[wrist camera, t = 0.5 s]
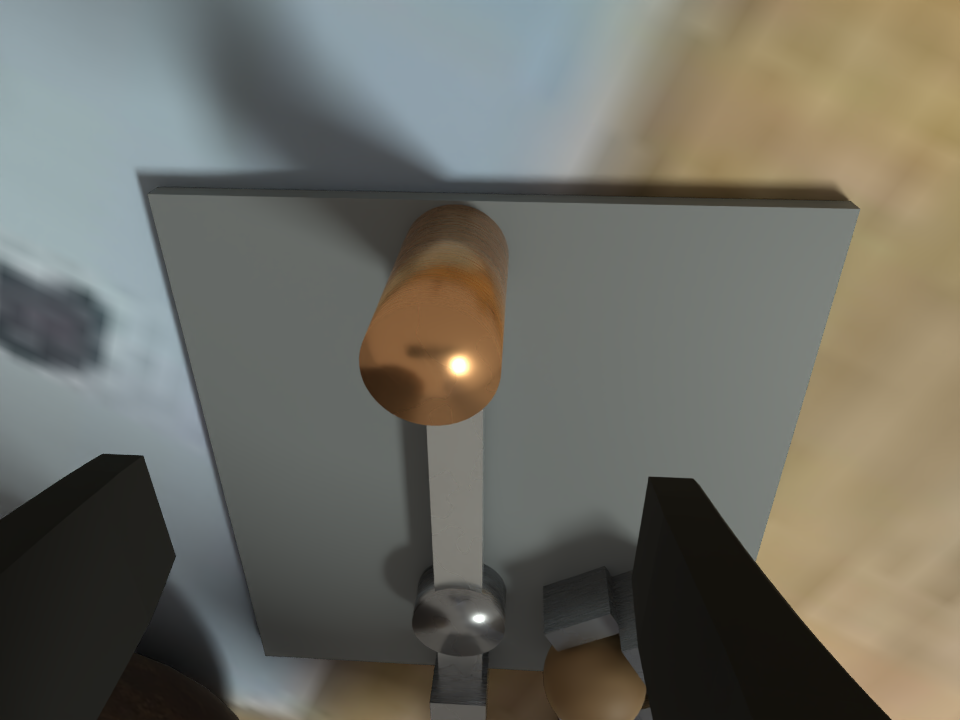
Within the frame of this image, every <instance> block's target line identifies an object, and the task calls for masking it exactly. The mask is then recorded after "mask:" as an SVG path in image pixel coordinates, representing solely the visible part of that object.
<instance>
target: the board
mask: <svg viewBox="0 0 960 720" xmlns="http://www.w3.org/2000/svg"><path fill="white" fill-rule="evenodd" d="M147 195H148V199H149V203H150V206H151V210H152V214H153V218H154V222H155V226H156V230H157V234H158V238H159V242H160V246H161V249H162V253H163V257H164V261H165V265H166V269H167V273H168V277H169V281H170V285H171V289H172V292H173V296H174V300H175V304H176V308H177V312H178V316H179V320H180V324H181V328H182V332H183V335H184V339H185V343H186V347H187V351H188V355H189V359H190V363H191V367H192V371H193V375H194V378H195V382H196V386H197V390H198V394H199V398H200V402H201V406H202V410H203V414H204V418H205V422H206V425H207V429H208V433H209V437H210V441H211V445H212V449H213V453H214V457H215V461H216V465H217V468H218V472H219V476H220V480H221V484H222V488H223V492H224V496H225V500H226V504H227V508H228V511H229V515H230V519H231V523H232V527H233V531H234V535H235V539H236V543H237V547H238V551H239V554H240V558H241V562H242V566H243V570H244V574H245V578H246V582H247V586H248V590H249V594H250V598H251V601H252V605H253V609H254V613H255V617H256V621H257V625H258V629H259V633H260V637H261V641H262V644H263V648H264V652H265V656H278V657H296V658H314V659H332V660H350V661H368V662H386V663H403V664H421V665H435V660H436V651H434V650H432V649H430V648H429V647H427V646H426V645H424V644H423V643H422V642H421V641H420V640H419V639H418V638H417V637H416V635H415V633H414V631H413V628H412V618H413V612H414V606H415V600H416V595H417V589H418V583H419V579H420V577H421V575H422V574H423V572H424V571H425V570H426V569H427V568H429V567H430V566H432V565H433V547H432V526H431V506H430V486H429V466H428V445H427V425H421V424H416V423H412V422H409V421H406V420H404V419H401V418H399V417H397V416H395V415H393V414H392V413H390V412H389V411H387V410H386V409H384V408H383V407H382V406H381V405H380V404H379V403H378V402H377V401H376V400H375V399H374V398H373V397H372V396H371V394H370V393H369V391H368V390H367V388H366V386H365V384H364V382H363V380H362V377H361V373H360V368H359V353H360V348H361V345H362V342H363V339H364V337H365V334H366V332H367V329H368V327H369V325H370V322H371V320H372V317H373V315H374V312H375V310H376V308H377V305H378V303H379V300H380V298H381V295H382V293H383V291H384V288H385V286H386V283H387V281H388V278H389V276H390V274H391V271H392V269H393V266H394V264H395V261H396V259H397V257H398V254H399V252H400V249H401V247H402V244H403V242H404V240H405V237H406V235H407V233H408V231H409V229H410V227H411V226H412V224H413V223H414V222H415V221H416V220H417V219H418V218H419V217H420V216H421V215H422V214H424V213H425V212H427V211H429V210H431V209H433V208H436V207H439V206H443V205H454V204H455V205H464V206H469V207H472V208H475V209H477V210H479V211H481V212H483V213H484V214H486V215H487V216H489V217H490V218H491V219H492V220H493V221H494V222H495V223H496V224H497V225H498V226H499V228H500V229H501V231H502V232H503V234H504V236H505V239H506V242H507V245H508V251H509V262H508V277H507V292H506V307H505V323H504V338H503V353H502V368H501V379H500V383H499V386H498V389H497V391H496V393H495V395H494V397H493V398H492V400H491V401H490V402H489V403H488V405H487V406H486V407H485V408H484V564H485V565H487V566H489V567H491V568H492V569H494V570H495V571H496V572H497V573H498V574H499V575H500V576H501V578H502V579H503V581H504V583H505V586H506V613H505V633H504V636H503V638H502V640H501V642H500V643H499V644H498V645H497V646H496V647H495V648H493V649H492V650H490V651H489V668H493V669H511V670H529V671H543V669H544V664H545V659H546V656H547V654H548V651H549V649H550V648H551V646H552V644H551V643H550V642H549V640H548V639H547V638H546V636H545V635H544V610H543V586H546V585H549V584H552V583H555V582H558V581H561V580H564V579H567V578H570V577H573V576H576V575H579V574H582V573H585V572H588V571H591V570H594V569H597V568H600V567H603V566H605V567H606V568H607V570H608V571H609V573H610V574H611V576H615V575H618V574H621V573H624V572H627V571H631V570H633V566H634V560H635V554H636V549H637V543H638V537H639V531H640V525H641V519H642V513H643V507H644V501H645V495H646V489H647V483H648V477H649V476H650V477H674V478H693V479H694V480H695V481H696V482H697V483H698V484H699V485H700V486H701V488H702V489H703V491H704V492H705V493H706V495H707V496H708V498H709V499H710V501H711V502H712V503H713V505H714V506H715V508H716V509H717V511H718V512H719V513H720V515H721V516H722V518H723V519H724V520H725V522H726V523H727V525H728V526H729V527H730V529H731V530H732V531H733V533H734V534H735V536H736V537H737V538H738V540H739V541H740V542H741V544H742V545H743V546H744V548H745V549H746V550H747V552H748V553H749V554H750V556H751V557H752V558H753V560H754V561H756V558H757V555H758V551H759V548H760V544H761V541H762V538H763V534H764V531H765V528H766V524H767V521H768V518H769V514H770V511H771V507H772V504H773V501H774V497H775V494H776V491H777V487H778V484H779V481H780V477H781V474H782V470H783V467H784V464H785V460H786V457H787V454H788V450H789V447H790V444H791V440H792V437H793V433H794V430H795V427H796V423H797V420H798V417H799V413H800V410H801V407H802V403H803V400H804V396H805V393H806V390H807V386H808V383H809V380H810V376H811V373H812V370H813V366H814V363H815V359H816V356H817V353H818V349H819V346H820V343H821V339H822V336H823V333H824V329H825V326H826V322H827V319H828V316H829V312H830V309H831V306H832V302H833V299H834V295H835V292H836V289H837V285H838V282H839V279H840V275H841V272H842V269H843V265H844V262H845V258H846V255H847V252H848V248H849V245H850V242H851V238H852V235H853V232H854V228H855V225H856V221H857V218H858V215H859V211H860V208H858V207H857V206H856V205H855V204H854V203H852V202H851V201H822V200H773V199H723V198H673V197H624V196H574V195H525V194H475V193H426V192H376V191H327V190H277V189H228V188H178V187H157V188H156V189H154V190H153V191H151V192H150V193H148V194H147Z"/></svg>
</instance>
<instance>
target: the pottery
mask: <svg viewBox="0 0 960 720" xmlns="http://www.w3.org/2000/svg"><path fill="white" fill-rule="evenodd" d="M97 720H239V719H238V717H237V716H236V715H235V714H234V713H233V712H232V711H231V710H230V709H229V708H228V707H227V705H225V704H224V703H223V702H222V701H221V700H220V699H219V698H217V697H216V696H215V695H214V694H213V693H212V692H211V691H209V690H208V689H207V688H206V687H204V686H202V685H201V684H199V683H197V682H195V681H194V680H192V679H190V678H189V677H187V676H185V675H184V674H182V673H180V672H178V671H177V670H175V669H173V668H172V667H170V666H168V665H165V664H163V663H160V662H158V661H155V660H153V659H150V658H147V657H145V656H142V655H140V654H137V653H133V655H132V657H131V659H130V661H129V662H128V664H127V666H126V668H125V670H124V672H123V673H122V675H121V677H120V679H119V681H118V683H117V684H116V686H115V688H114V690H113V692H112V693H111V695H110V697H109V699H108V701H107V702H106V704H105V706H104V708H103V710H102V711H101V713H100V715H99V717H98V719H97Z"/></svg>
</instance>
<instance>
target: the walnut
mask: <svg viewBox="0 0 960 720" xmlns="http://www.w3.org/2000/svg"><path fill="white" fill-rule="evenodd" d="M543 682H544V688H545V692H546V696H547V699H548V701H549V703H550V705H551V707H552V709H553V710H554V712H555V713H556V714H557V716H558V717H559V718H560V719H561V720H634V719H635V718H636V716H637V715H638V713H639V711H640V710H641V708H642V705H643V703H644V700H645V695H646V685H645V684H644V682H643V681H642V680H641V678H640V677H639V675H638V674H637V673H636V671H635V670H634V668H633V667H632V666H631V664H630V663H629V661H628V660H627V659H626V657H625V656H624V654H623V653H622V651H621V643H620V635H619V633H618V634H615V635H612V636H608V637H605V638H602V639H598V640H595V641H592V642H588V643H585V644H582V645H578V646H575V647H572V648H568V649H565V650H562V651H558V652H557V650H556V649H555V648H554V647H553V645H552V646H551V648H550V649H549V651H548V654H547V656H546V659H545V664H544V669H543Z"/></svg>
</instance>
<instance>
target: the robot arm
mask: <svg viewBox="0 0 960 720" xmlns="http://www.w3.org/2000/svg"><path fill="white" fill-rule="evenodd" d="M175 557H176V555H175V552H174V549H173V546H172V543H171V540H170V537H169V534H168V531H167V528H166V524H165V521H164V518H163V515H162V512H161V509H160V506H159V503H158V500H157V497H156V494H155V490H154V487H153V484H152V481H151V478H150V475H149V472H148V469H147V466H146V463H145V460H144V456H141V455H117V454H101V455H100V456H98V457H96V458H95V459H93V460H91V461H89V462H88V463H86V464H84V465H83V466H81V467H80V468H78V469H76V470H75V471H73V472H72V473H70V474H69V475H67V476H66V477H64V478H62V479H61V480H59V481H58V482H56V483H55V484H53V485H52V486H50V487H49V488H47V489H46V490H44V491H43V492H41V493H40V494H38V495H37V496H35V497H34V498H32V499H31V500H29V501H28V502H26V503H25V504H23V505H22V506H20V507H19V508H17V509H16V510H14V511H13V512H11V513H10V514H8V515H7V516H5V517H4V518H2V519H1V520H0V720H97V719H98V717H99V715H100V713H101V711H102V710H103V708H104V706H105V704H106V702H107V701H108V699H109V697H110V695H111V693H112V692H113V690H114V688H115V686H116V684H117V683H118V681H119V679H120V677H121V675H122V673H123V672H124V670H125V668H126V666H127V664H128V662H129V661H130V659H131V657H132V655H133V653H134V651H135V650H136V648H137V646H138V644H139V642H140V640H141V638H142V637H143V635H144V633H145V631H146V629H147V627H148V625H149V623H150V621H151V619H152V616H153V614H154V611H155V609H156V606H157V604H158V602H159V599H160V597H161V594H162V592H163V589H164V587H165V584H166V581H167V579H168V576H169V573H170V570H171V568H172V565H173V562H174V560H175ZM631 579H632V590H633V601H634V613H635V623H636V632H637V642H638V650H639V655H640V660H641V665H642V670H643V675H644V680H645V685H646V689H647V694H648V699H649V704H650V709H651V714H652V718H653V720H891V719H890V718H889V716H888V715H887V714H886V713H885V712H884V711H883V710H882V709H881V708H880V707H879V706H878V705H877V704H876V703H875V702H874V701H873V700H872V699H871V698H870V697H869V695H868V694H867V693H866V692H865V691H864V690H863V689H862V688H861V687H860V686H859V685H858V684H857V683H856V681H855V680H854V679H853V678H852V677H851V676H850V675H849V674H848V673H847V672H846V670H845V669H844V668H843V667H842V666H841V665H840V664H839V662H838V661H837V660H836V659H835V658H834V657H833V656H832V655H831V653H830V652H829V651H828V650H827V649H826V648H825V647H824V646H823V644H822V643H821V642H820V641H819V640H818V639H817V638H816V636H815V635H814V634H813V633H812V632H811V630H810V629H809V628H808V627H807V626H806V625H805V623H804V622H803V621H802V620H801V619H800V617H799V616H798V615H797V614H796V613H795V611H794V610H793V609H792V608H791V606H790V605H789V604H788V603H787V601H786V600H785V599H784V598H783V596H782V595H781V594H780V593H779V591H778V590H777V589H776V588H775V586H774V585H773V584H772V583H771V581H770V580H769V579H768V578H767V576H766V575H765V574H764V573H763V571H762V570H761V569H760V567H759V566H758V565H757V564H756V562H755V561H754V560H753V558H752V557H751V556H750V554H749V553H748V552H747V550H746V549H745V548H744V546H743V545H742V544H741V542H740V541H739V540H738V538H737V537H736V536H735V534H734V533H733V531H732V530H731V529H730V527H729V526H728V525H727V523H726V522H725V520H724V519H723V518H722V516H721V515H720V513H719V512H718V511H717V509H716V508H715V506H714V505H713V503H712V502H711V501H710V499H709V498H708V496H707V495H706V493H705V492H704V491H703V489H702V488H701V486H700V485H699V484H698V483H697V482H696V481H695V480H694V479H693V478H674V477H650V476H649V477H648V483H647V489H646V495H645V501H644V507H643V513H642V519H641V525H640V531H639V537H638V543H637V549H636V554H635V560H634V566H633V572H632V578H631ZM559 720H561V719H560V718H559Z"/></svg>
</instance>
